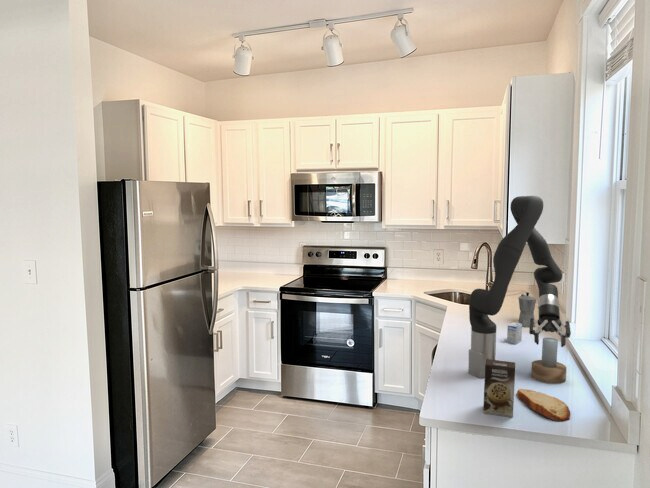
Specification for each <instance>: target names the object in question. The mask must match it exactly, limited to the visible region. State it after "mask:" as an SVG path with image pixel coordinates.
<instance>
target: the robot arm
mask: <svg viewBox="0 0 650 488" xmlns="http://www.w3.org/2000/svg"><path fill="white" fill-rule="evenodd" d="M510 212H511V216H512V218H513V219H514V221H515V222H516V226H515V227H513V228H512V230H511V231H509V232H508V233H507V234H505V236H504V237H503V238H502V239H501V240H500V241H499V243H498V245H497V247H496V249H495V252H494V254H493V258H492V259H493V260H492V261H493V269H494V279H493V283H492V286H491V288H490V289H485V288H476V289H474V290H472V292H471V294H470V295H469V301H468V308H469V311H468V313H469V318H468V319H469V324H470V329H471V331H470V332H471V333H470V334H471V335H470V349H469V350H468V372H467V373H468V374H469V375H472V376H474V377H477V378H479V379H485V362H486V359H491V360H496V358H497V356H496V354H497V353H496V352H497V351H496V350H497V324H496V322H494V321H493V320H491V318H490V317H489V316H495V315H497V314H498V313H499V312H500V310H501V308H502V306H503V304H504V301H505V298H506V295H507V291H508V287H509V286H510V282H511V280H512V277H513V274H514V272H515V270H516V268H517V265H518V263H519V261H520V259H521V256H522V255H523V251H524V249H525V246H526V245H527V246H528V248H529V249H528V250H529V252H530V254H531V258H532V260H533V263H534V265H535V264H536V265H538V266H542V267H538V268H536V269H535V270H534V272H533V277H534V279H535V282H536V284H537V288H538V308H537V309H538V319H535V318H534V319H535V320H534V319H533V318H531V319H530V328H529V332H528V333H529V335H533V336H534V337H533V338H534V344H536V345H539V344H540V343H539V341H540V338H539V336H540V334H541V333H542V332H545V333H549V332H550V333H556V334H557V335H558V336H560V347H561V348H564V347H565V346H566V342H567V341H566V339H567V338H571V334H572V332H571V325H570V321H569V320H566V321H561V315H560V301H559V290H558V287H557V286H556V285H555V284H554V283H560V281H562V279H563V272H562V269H561V268H560V267H559V265H558V263H556V261H555V259H554V258H553V257H552V253H551V251H550V247H549V245H548V243H547V241H546V239H545V238H544V236H543V235H541V233H540V232H539V230H537V229H536V228H535V226H536V225H537V223H538V221H539V220H540V218H541V215H542V214H543V212H544V201H543V199H542V198H541V196H538V195H521V196H516V197H514V198H513V199H512V200H511V202H510ZM536 324H537V325H538V327H537V328H536V329H534V327H533V325H535V326H536ZM562 326H563V328H564V329H565V331H564V330H563V329H562V328H561V327H562Z"/></svg>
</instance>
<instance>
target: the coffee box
mask: <svg viewBox="0 0 650 488" xmlns="http://www.w3.org/2000/svg"><path fill="white" fill-rule="evenodd" d="M515 378H516V363H515V362H514V361H507V360H500V359H499V360H497V359H495V360H491V359H486V362H485V378H484V384H483V385H484V387H483V407H482V409H483V410H482V413H484V414H489V415H495V416H500V417H506V418H507V417H508V418H514V406H515V405H514V403H515V402H514V401H515V385H516V383H515V382H516V379H515Z"/></svg>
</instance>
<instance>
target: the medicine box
mask: <svg viewBox="0 0 650 488" xmlns="http://www.w3.org/2000/svg"><path fill="white" fill-rule="evenodd" d="M506 335H507V336H506V344H511V345H518V344H519V343H520V342H521V341H522V339H523V338H522V335H523V327H522V324H521V323H518V322H514V321H513V322H511V323H509V324H508V325H507V332H506Z"/></svg>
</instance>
